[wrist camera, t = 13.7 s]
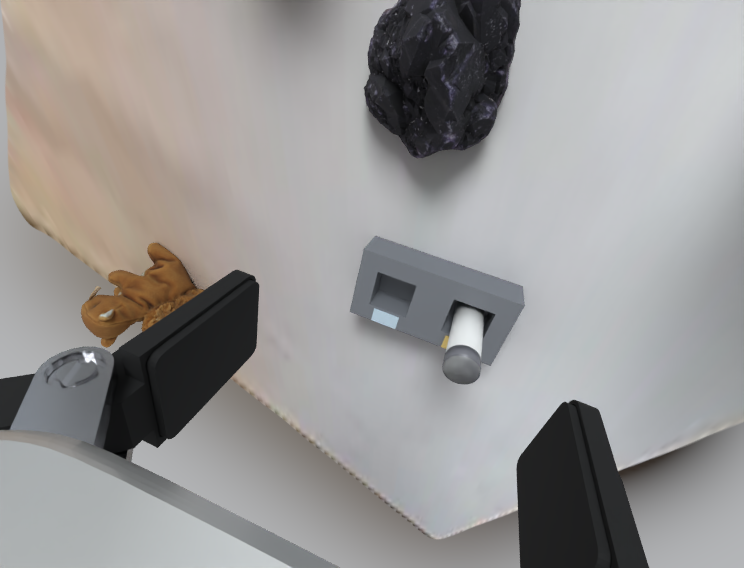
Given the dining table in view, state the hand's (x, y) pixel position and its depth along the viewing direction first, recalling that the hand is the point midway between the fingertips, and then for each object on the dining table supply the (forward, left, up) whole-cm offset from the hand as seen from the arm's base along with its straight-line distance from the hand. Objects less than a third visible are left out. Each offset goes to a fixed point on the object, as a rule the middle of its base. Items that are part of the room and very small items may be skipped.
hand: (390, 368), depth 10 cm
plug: (-5, +14, -28) cm, 31 cm away
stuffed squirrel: (+35, +28, -29) cm, 53 cm away
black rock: (+5, -8, -29) cm, 30 cm away
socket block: (-1, +14, -28) cm, 31 cm away
